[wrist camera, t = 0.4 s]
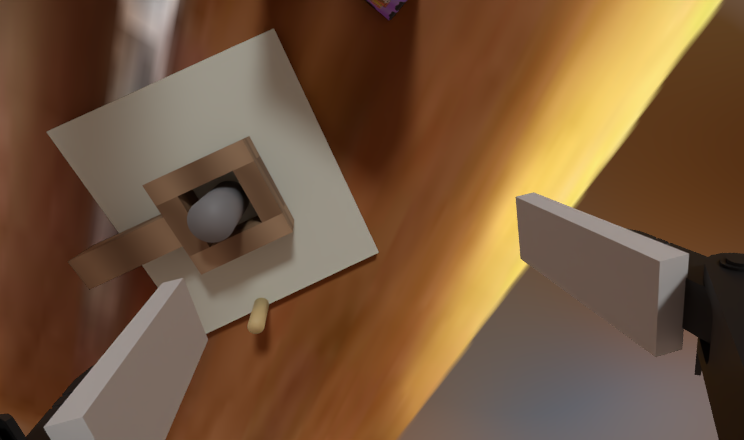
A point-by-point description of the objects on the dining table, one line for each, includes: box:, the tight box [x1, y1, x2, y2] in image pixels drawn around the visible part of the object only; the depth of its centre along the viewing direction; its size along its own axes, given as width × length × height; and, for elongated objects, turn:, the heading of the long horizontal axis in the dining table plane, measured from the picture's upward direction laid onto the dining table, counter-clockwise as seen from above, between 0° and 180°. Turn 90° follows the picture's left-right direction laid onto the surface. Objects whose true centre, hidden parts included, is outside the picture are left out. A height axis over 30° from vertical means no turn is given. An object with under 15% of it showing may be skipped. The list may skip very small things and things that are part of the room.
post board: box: [47, 29, 379, 334], centre depth 35 cm, size 24×22×9 cm
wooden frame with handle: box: [68, 136, 294, 290], centre depth 35 cm, size 18×9×4 cm, turn 114°
